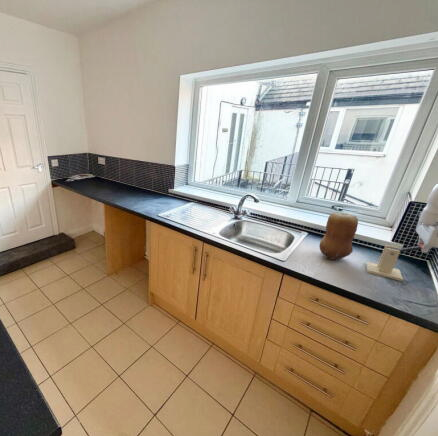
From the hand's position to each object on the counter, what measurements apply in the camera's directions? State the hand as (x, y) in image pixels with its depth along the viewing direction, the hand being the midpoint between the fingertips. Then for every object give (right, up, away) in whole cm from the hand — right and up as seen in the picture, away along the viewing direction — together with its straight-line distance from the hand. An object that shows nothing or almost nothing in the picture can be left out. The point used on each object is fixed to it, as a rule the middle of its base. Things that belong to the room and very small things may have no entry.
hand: (421, 248), depth 105 cm
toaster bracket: (-7, -12, +10) cm, 17 cm away
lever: (-3, -2, +3) cm, 5 cm away
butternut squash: (-22, -8, +22) cm, 32 cm away
